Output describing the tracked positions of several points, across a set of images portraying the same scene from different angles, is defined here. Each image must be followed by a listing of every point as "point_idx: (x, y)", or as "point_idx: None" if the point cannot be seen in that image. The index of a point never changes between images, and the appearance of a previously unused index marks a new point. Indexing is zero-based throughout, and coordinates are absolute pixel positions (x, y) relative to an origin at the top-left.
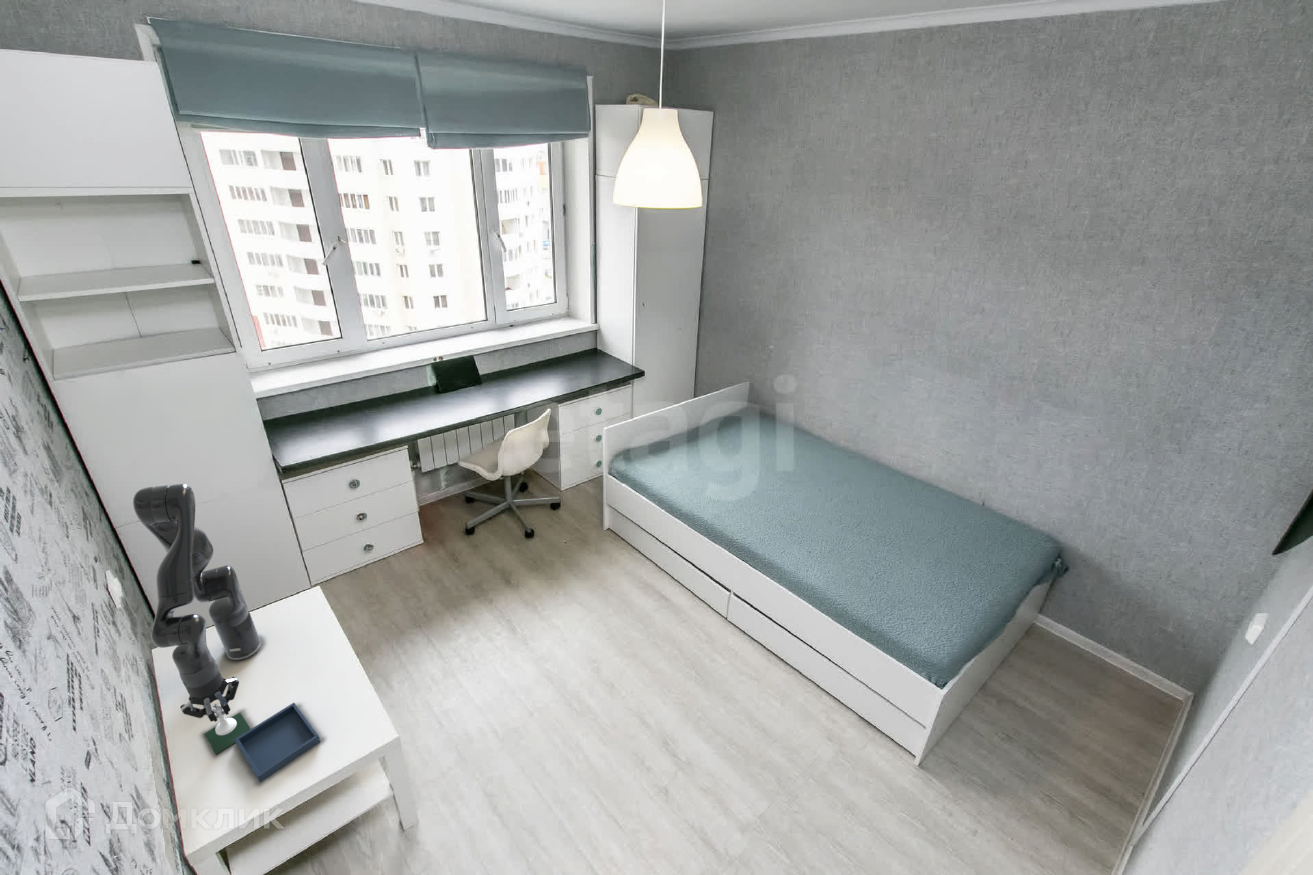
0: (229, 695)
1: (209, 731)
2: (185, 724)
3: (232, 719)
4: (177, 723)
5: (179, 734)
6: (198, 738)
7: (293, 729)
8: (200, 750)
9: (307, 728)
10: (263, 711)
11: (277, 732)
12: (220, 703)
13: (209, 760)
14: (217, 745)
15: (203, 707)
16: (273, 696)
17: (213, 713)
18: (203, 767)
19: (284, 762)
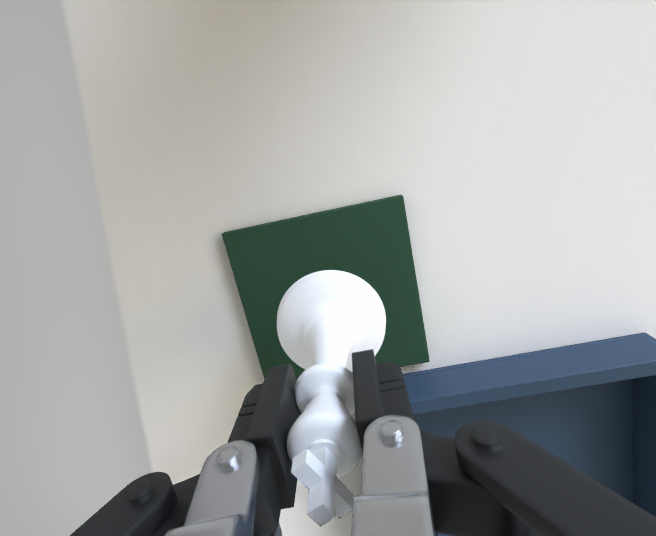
0: (497, 528)
1: (247, 237)
2: (130, 93)
3: (372, 312)
4: (87, 54)
5: (105, 152)
6: (196, 241)
7: (583, 451)
8: (205, 319)
9: (636, 485)
10: (504, 258)
11: (521, 428)
12: (362, 434)
13: (240, 394)
14: (276, 346)
15: (196, 500)
16: (583, 180)
17: (287, 499)
18: (217, 413)
19: None
